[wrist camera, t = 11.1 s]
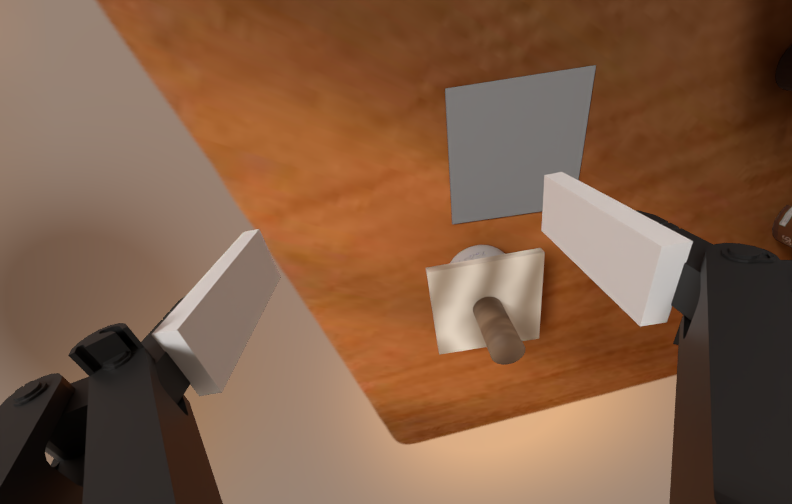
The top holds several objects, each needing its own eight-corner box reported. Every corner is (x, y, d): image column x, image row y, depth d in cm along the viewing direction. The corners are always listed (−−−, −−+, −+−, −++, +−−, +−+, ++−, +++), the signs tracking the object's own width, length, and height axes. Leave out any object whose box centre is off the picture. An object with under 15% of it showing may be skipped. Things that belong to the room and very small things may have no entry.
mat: (593, 65, 37) (596, 65, 37) (572, 205, 46) (574, 206, 46) (444, 88, 38) (445, 88, 38) (452, 223, 47) (452, 224, 46)
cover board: (540, 247, 40) (580, 290, 32) (535, 332, 48) (567, 384, 39) (425, 267, 41) (436, 314, 33) (438, 348, 48) (449, 402, 40)
